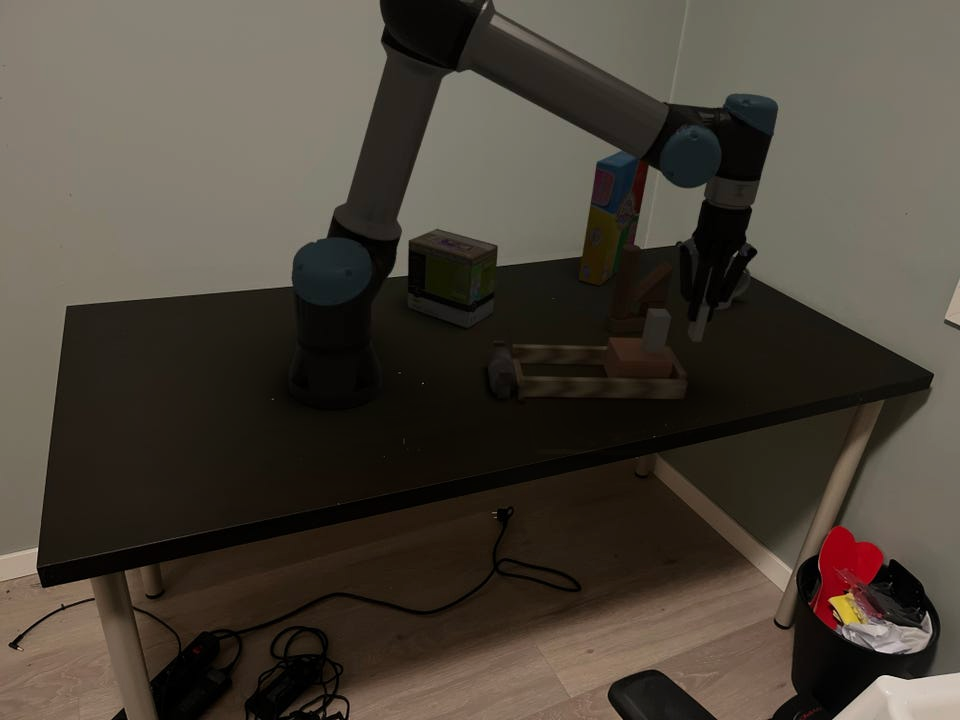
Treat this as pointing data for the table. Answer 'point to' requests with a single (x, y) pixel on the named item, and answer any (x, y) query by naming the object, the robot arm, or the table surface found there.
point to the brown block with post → (641, 351)
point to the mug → (737, 293)
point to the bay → (510, 377)
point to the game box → (612, 215)
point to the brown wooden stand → (636, 292)
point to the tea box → (451, 277)
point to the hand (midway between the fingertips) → (694, 337)
